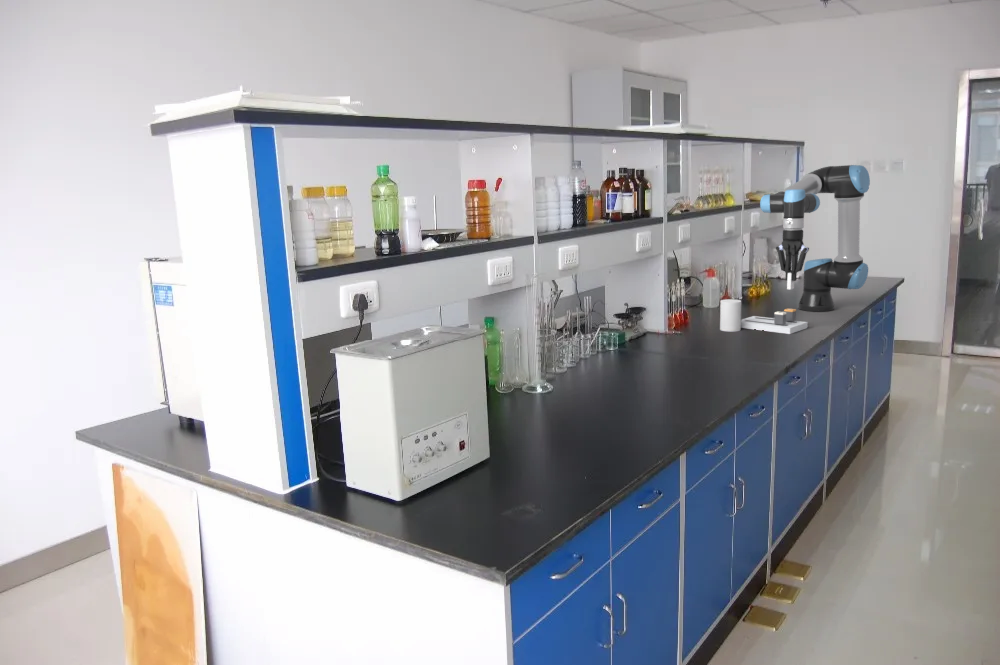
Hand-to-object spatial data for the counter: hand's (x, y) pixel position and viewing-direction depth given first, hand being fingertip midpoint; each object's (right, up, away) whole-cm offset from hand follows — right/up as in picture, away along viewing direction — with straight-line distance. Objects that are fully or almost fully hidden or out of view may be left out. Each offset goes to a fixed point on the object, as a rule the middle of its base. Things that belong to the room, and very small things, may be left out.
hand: (790, 288), depth 292 cm
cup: (-20, -16, +12) cm, 29 cm away
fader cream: (-2, -14, +5) cm, 15 cm away
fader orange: (+4, -12, +10) cm, 16 cm away
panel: (-3, -15, +12) cm, 20 cm away
